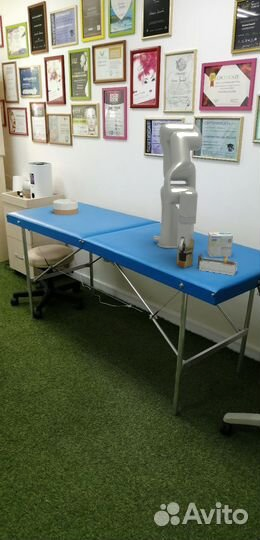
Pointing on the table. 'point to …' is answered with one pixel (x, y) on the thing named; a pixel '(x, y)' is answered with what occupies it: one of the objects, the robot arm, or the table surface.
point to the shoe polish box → (189, 255)
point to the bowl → (65, 207)
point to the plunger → (210, 261)
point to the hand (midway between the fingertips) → (184, 258)
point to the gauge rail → (218, 266)
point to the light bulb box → (219, 244)
